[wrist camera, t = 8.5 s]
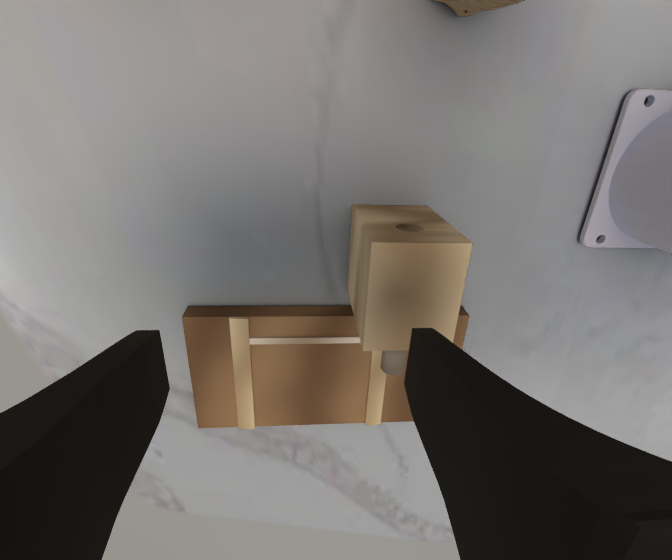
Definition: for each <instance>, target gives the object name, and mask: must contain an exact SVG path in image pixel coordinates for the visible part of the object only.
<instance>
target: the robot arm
mask: <svg viewBox="0 0 672 560" xmlns="http://www.w3.org/2000/svg"><path fill="white" fill-rule="evenodd" d="M646 97H648V102H647V103H646V105H644V100H645V98H646ZM598 236H600V238H599V240H597V241H596V239H597V237H598ZM580 243H581V244H582V245H584V246H586V247H599V248H658V249H660V250H662V251H665V252H667V253H670V254H672V90H655V89H635V90H633V91H631V92H630V93H629V94H628V95H627V96H626V98H625V100H624V103H623V106H622V109H621V113H620V116H619V119H618V122H617V125H616V128H615V131H614V134H613V137H612V140H611V143H610V146H609V149H608V153H607V156H606V159H605V162H604V165H603V168H602V171H601V174H600V177H599V180H598V183H597V186H596V189H595V193H594V196H593V199H592V202H591V205H590V208H589V211H588V214H587V217H586V220H585V223H584V226H583V229H582V232H581V236H580ZM404 385H405V390H406V394H407V399H408V403H409V406H410V410H411V414H412V417H413V419H414V422H415V425H416V427H417V430H418V433H419V435H420V438H421V440H422V443H423V446H424V448H425V451H426V453H427V456H428V458H429V461H430V463H431V466H432V468H433V471H434V474H435V476H436V479H437V481H438V484H439V487H440V490H441V492H442V495H443V498H444V501H445V505H446V508H447V512H448V515H449V519H450V522H451V526H452V529H453V533H454V537H455V540H456V544H457V548H458V552H459V555H460V559H461V560H672V462H671V461H668V460H665V459H663V458H660V457H657V456H655V455H652V454H650V453H647V452H645V451H642V450H640V449H637V448H635V447H632V446H630V445H628V444H625V443H623V442H620V441H618V440H616V439H613V438H611V437H609V436H606V435H604V434H602V433H600V432H598V431H595V430H593V429H591V428H589V427H587V426H585V425H583V424H581V423H579V422H577V421H575V420H573V419H570V418H568V417H567V416H565V415H563V414H561V413H559V412H557V411H555V410H553V409H551V408H550V407H548V406H546V405H544V404H543V403H541V402H539V401H537V400H535V399H534V398H532V397H530V396H528V395H527V394H525V393H524V392H522V391H520V390H519V389H517V388H515V387H514V386H512V385H511V384H509V383H508V382H506V381H505V380H503V379H502V378H500V377H499V376H497V375H496V374H494V373H493V372H492V371H490V370H489V369H487V368H486V367H484V366H483V365H482V364H480V363H479V362H478V361H476V360H475V359H474V358H472V357H471V356H470V355H468V354H467V353H466V352H464V351H463V350H462V349H460V348H459V347H458V346H456V345H455V344H454V343H452V342H451V341H450V340H449V339H447V338H446V337H445V336H443V335H442V334H441V333H439V332H438V331H436V330H435V329H433V328H412V332H411V339H410V346H409V353H408V359H407V366H406V373H405V380H404ZM169 389H170V388H169V382H168V377H167V371H166V365H165V360H164V354H163V348H162V343H161V337H160V332H159V330H137V331H135V332H133V333H131V334H129V335H128V336H126V337H124V338H123V339H121V340H120V341H118V342H117V343H115V344H114V345H112V346H111V347H109V348H108V349H106V350H105V351H103V352H102V353H100V354H98V355H97V356H95V357H94V358H92V359H91V360H89V361H88V362H86V363H85V364H83V365H82V366H80V367H79V368H77V369H76V370H74V371H72V372H71V373H69V374H68V375H66V376H64V377H63V378H61V379H59V380H58V381H56V382H54V383H53V384H51V385H49V386H48V387H46V388H45V389H43V390H41V391H39V392H38V393H36V394H34V395H33V396H31V397H29V398H28V399H26V400H24V401H22V402H21V403H19V404H17V405H15V406H13V407H11V408H10V409H8V410H6V411H4V412H2V413H0V560H101V559H102V557H103V554H104V551H105V548H106V545H107V542H108V539H109V537H110V534H111V531H112V528H113V525H114V522H115V520H116V517H117V515H118V512H119V510H120V507H121V505H122V502H123V500H124V498H125V496H126V494H127V492H128V489H129V487H130V485H131V483H132V481H133V479H134V476H135V474H136V472H137V470H138V468H139V466H140V464H141V461H142V459H143V457H144V455H145V453H146V451H147V448H148V446H149V444H150V442H151V440H152V437H153V435H154V433H155V431H156V429H157V426H158V424H159V422H160V419H161V416H162V413H163V409H164V406H165V403H166V399H167V396H168V392H169Z"/></svg>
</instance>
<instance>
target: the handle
mask: <svg viewBox="0 0 672 560" xmlns="http://www.w3.org/2000/svg"><path fill="white" fill-rule="evenodd" d="M433 1H435V2H436V1H440V2H443V3H445V4H447V5H448V6H450V7H451V8H452V9H453V10H454V11H455V14H456V15H457V16H469V15H473V14H476V13H477V12H478V11H487V10H493V9H498V8H502V7H506V6H509V5H513V4H516V3H519V2H521V1H524V0H433Z"/></svg>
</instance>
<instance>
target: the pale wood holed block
mask: <svg viewBox="0 0 672 560" xmlns="http://www.w3.org/2000/svg"><path fill="white" fill-rule="evenodd" d="M472 245H473V243H472V242H470V241H469V240H468V239H467V238H466V237H464V236H463V235H462V234H461V233H460V232H458V231H457V230H456V229H455V228H453V227H452V226H451V225H450V224H449V223H447V222H446V221H445V220H444V219H443V218H441V217H440V216H439V215H438V214H436V213H435V212H434V211H433V210H432V209H430V208H429V207H428V206H413V205H359V204H352V221H351V238H350V256H349V273H348V294H349V298H350V302H351V306H352V310H353V314H354V318H355V322H356V326H357V330H358V334H359V338H360V342H361V346H362V350H363V351H382V357H381V366H380V367H381V370H382V371H383V372H385V373H386V374H389V375H399V374H401V373H402V372H403V371H404V365H405V358H406V351H407V350H409V346H410V339H411V332H412V328H433V329H435V330H436V331H438V332H439V333H441V334H442V335H443V336H445V337H446V338H447V339H449V340H450V341H451V342H452V343H453V340H454V335H455V330H456V325H457V320H458V315H459V310H460V305H461V300H462V295H463V290H464V285H465V280H466V275H467V270H468V265H469V260H470V255H471V250H472Z"/></svg>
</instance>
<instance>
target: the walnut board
mask: <svg viewBox="0 0 672 560" xmlns="http://www.w3.org/2000/svg"><path fill="white" fill-rule="evenodd" d="M468 319H469V315H468V313H467V312H466V311H465V310H464V308H463V307H462V306H461V305H460V310H459V315H458V320H457V325H456V330H455V335H454V340H453V343H454V344H455V345H456V346H458V347H459V348H460V349H462V346H463V342H464V337H465V332H466V328H467V323H468ZM182 320H183V327H184V334H185V340H186V347H187V354H188V361H189V368H190V375H191V381H192V388H193V395H194V402H195V409H196V416H197V423H198V428H217V427H239V429H255V426H279V425H310V424H341V423H365V425H380V423H381V422H402V421H414V419H413V417H412V414H411V410H410V406H409V403H408V399H407V394H406V390H405V385H404V380H405V373H406V366H407V359H408V353H409V350H407V351H406V358H405V365H404V371H403V372H402V373H401V374H399V375H389V374H386V373H385V372H383V371H382V370H381V367H380V366H381V357H382V351H363V350H362V346H361V342H360V338H359V334H358V330H357V326H356V322H355V318H354V314H353V310H352V306H188V307H187V309H186V311H185V313H184V315H183V316H182Z"/></svg>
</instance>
